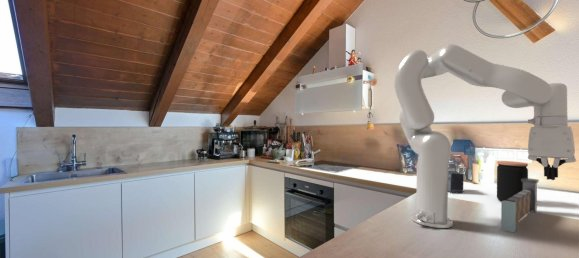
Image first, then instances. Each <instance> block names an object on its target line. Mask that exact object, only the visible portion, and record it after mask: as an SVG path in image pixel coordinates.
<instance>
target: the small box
mask: <svg viewBox="0 0 579 258" xmlns="http://www.w3.org/2000/svg"><path fill="white" fill-rule="evenodd" d="M464 176H465V175H464V173H462V172H459V171H455V170H448V194H458V195H459V194H460V195H461V194H462V195H464Z"/></svg>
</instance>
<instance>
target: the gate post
mask: <svg viewBox="0 0 579 258" xmlns="http://www.w3.org/2000/svg"><path fill="white" fill-rule="evenodd" d="M539 180H540V179H537V178H529V177H528V178H522V179H521V181H522V182H523V190H524V189H527V190H531V212H529V213H528V214H530V213H531V214H536V213H538V210H537V209H538V183H539Z"/></svg>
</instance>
